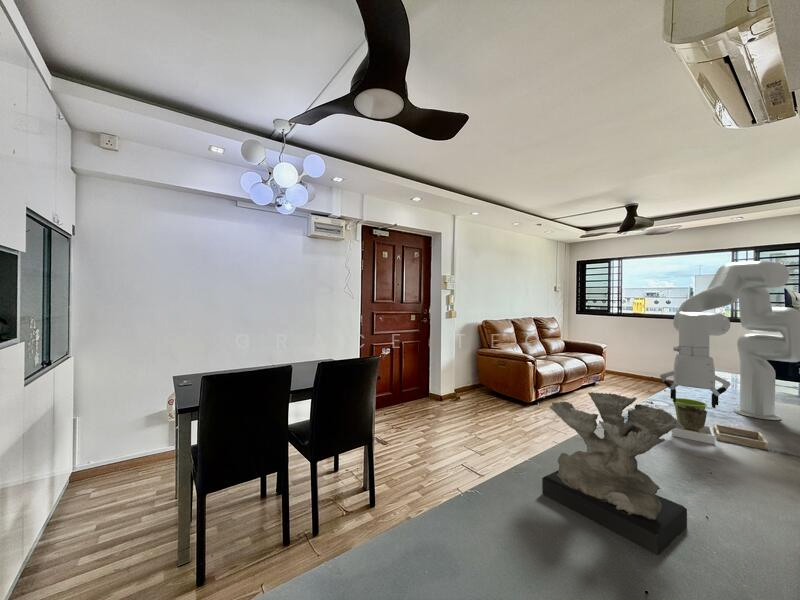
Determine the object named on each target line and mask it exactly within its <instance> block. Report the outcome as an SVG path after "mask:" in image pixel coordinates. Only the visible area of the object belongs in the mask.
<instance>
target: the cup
mask: <svg viewBox="0 0 800 600" xmlns="http://www.w3.org/2000/svg"><path fill="white" fill-rule="evenodd" d="M677 411H678V418H679V422H680V424H681V425H682V426H684V427H685V428H684V430H688V431H693V432H699V431H698V430H700V429H702V428H703V427H704V426H706V425H705V424H706V420H707V414H708V410H706V409H705V410H703V409H702V410H701V411H700V409H699V408H698V409H696V408H695V407H693V406H691V407H689V406H686V408H682V406H679V405H678V406H677Z"/></svg>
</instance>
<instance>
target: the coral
mask: <svg viewBox="0 0 800 600" xmlns="http://www.w3.org/2000/svg"><path fill="white" fill-rule="evenodd" d="M587 394H588V396H589V397H590V399H591V400H592V402H593V403H594V405H595V407H596V408H597V412H598V413H599V414H597V413H588V412H586V411H583V410H579V409H576V408H575V406H574V405H573V403H570V402H568V401H560V402H558V401H556V402H554V401H552V402H551V405H549V408H550V409H551V410H552V412H554V413H555V414H556V415H557V416H558V417H559V418H560V419H561V420H562V421H563V423H565V424H566V425H567V426H568V427H569V428H571V429H572V430H574V431H575V432H576V433H577V434H578V435H579V436H580V437H581V438H582V439H583V442H584V444H585V445H586V451H582V450H577V451H575V452H574V453H571V454H570V455H569V454H568V453H565V452H561V453H560V455H559V456H558V458H557V463H558V469H557V470H556V471H553V472H551V473H549V474H547V475H545V476H544V477H542V478H541V480H542V482H541V483H542V484H541V485H542V486H541V487H542V488H541V489H542V491H541V492H542V494H543V495H544V496H546V497H548V498H549V499H550V498H551V500H554V501H555V502H558V503H560V504H562V505H563V506H565V507H567V508H569V509H571V510H573V511H575V512H576V513H579V514H580V515H582V516H583V517H586V518H587V519H589V520H591V521H593V522H595V523H597V524H599V525H601V526H603V528H606V529H608V530H610V531H611V532H613V533H615V534H617V535H619V536H622V537H623V538H625V539H627V540H629V541H630V542H632V543H634V544H636V545H638V546H640V547H642V548H644V549H646V550H647V551H649V552H651V553H653V554H655V555H658V556H659V555H660V554H661V553H662V552H663V551H664V550H665V549H666V548H667V547H668V546H670V544H671V543H672V542H673V541H674V540H675V539H676V538H677V537H679V536H680V534H682V533H683V531H685V530H686V528H687V527H688V509H687V508H686V507H685V506H684V505H682V504H679V503H677V502H674V501H673V500H672V501H671V500H669V499H667V498H664V497H662V496H660V495H657V492H658V490H660V489H661V487H660V486H659V485H658V484H657V483H656V482H654V481H653V479H652V478H651V477H650V476H649V474H647V473H644V472H643V471H642V470H640V469H639V468H638V460H637V458H636V456H638V455H643V454H645V453H647V452H649V451H650V450H652V449H653V448H654V447H655V446H657V445H660V444H662V443H664V442H666V439H665V438H664V437H663V436H664V435H666V434H669V432H671V431H672V429H675V428H676V427H677V425H676V423H677V418H675V417H674V416H673V415H672V414H671V413H670V412H667V411H666V410H664V409H662V408H656V407H653V406H648V405H645V404H636V403H635V405H634V409H633V408H632V409H628V411H627V420H626V422H625V416H623V411H624V410H625V409H626V408H627V407H629V406H630V405H633V403H634V402H636V400H637V397H635V396H634V397H628V396H622V395H620V394H617V393H606V392H605V393H603V392H593V391H592V392H587ZM599 415H600V417H601V420H602V421H601V420H598V417H599ZM597 420H598V422H597ZM598 424H600V426H601V427H602V429H603V438H601V437H599V436H598V435H597V434H596V430H597V427H598ZM662 437H663V438H662Z"/></svg>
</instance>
